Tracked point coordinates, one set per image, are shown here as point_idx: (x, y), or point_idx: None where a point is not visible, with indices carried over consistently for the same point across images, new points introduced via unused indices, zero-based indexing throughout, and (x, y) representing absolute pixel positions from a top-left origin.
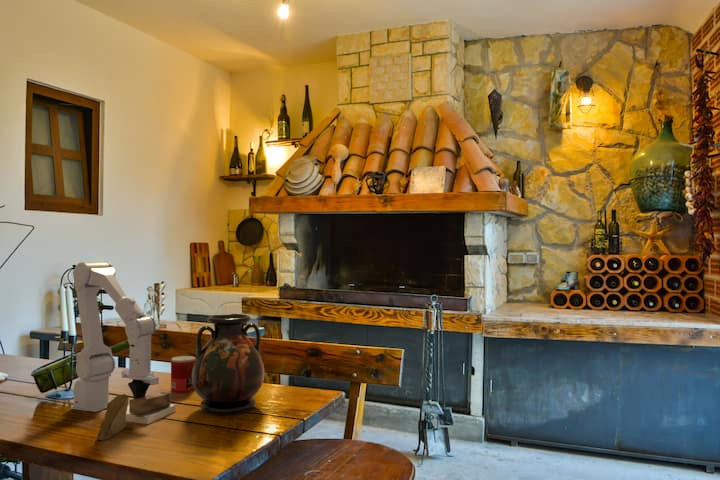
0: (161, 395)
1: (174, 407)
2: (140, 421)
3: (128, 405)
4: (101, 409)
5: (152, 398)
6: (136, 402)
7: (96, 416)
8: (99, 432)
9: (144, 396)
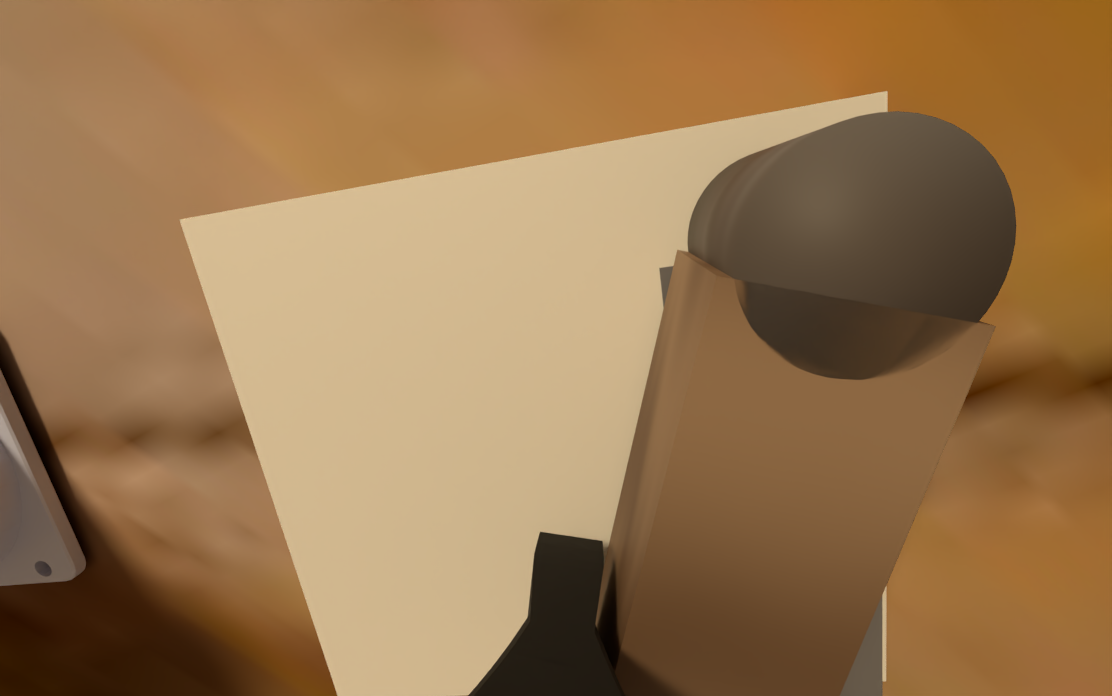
0: (923, 470)
1: None
2: None
3: (283, 462)
4: (57, 508)
5: (842, 653)
6: None
7: (205, 629)
8: None
9: (597, 634)
